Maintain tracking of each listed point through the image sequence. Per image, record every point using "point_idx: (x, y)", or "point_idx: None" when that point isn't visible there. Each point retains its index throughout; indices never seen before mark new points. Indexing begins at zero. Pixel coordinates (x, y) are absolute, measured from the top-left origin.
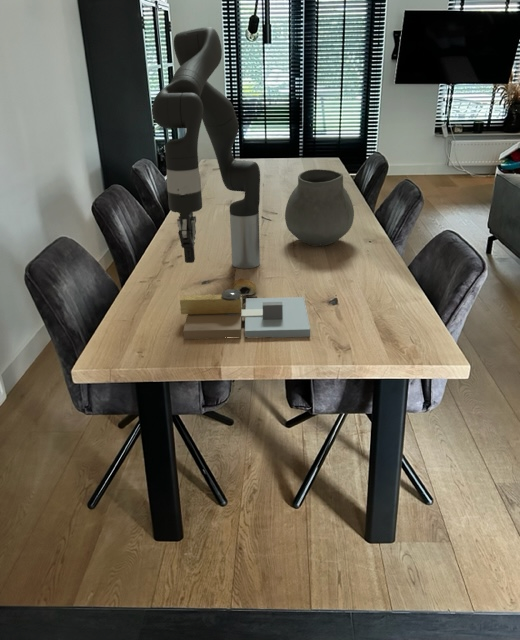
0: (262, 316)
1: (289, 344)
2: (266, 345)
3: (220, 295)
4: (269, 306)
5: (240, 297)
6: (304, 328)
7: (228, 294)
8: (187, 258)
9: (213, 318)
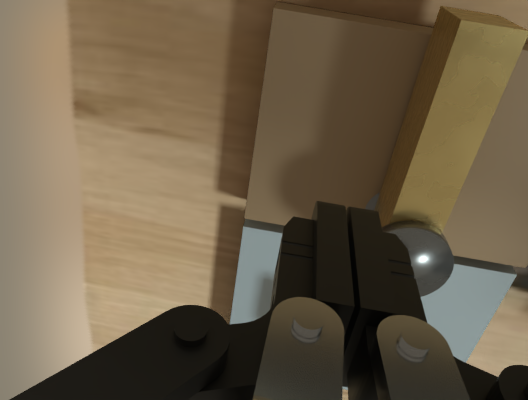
0: None
1: (191, 302)
2: (192, 254)
3: (435, 219)
4: None
5: None
6: None
7: None
8: (281, 243)
9: (361, 144)
